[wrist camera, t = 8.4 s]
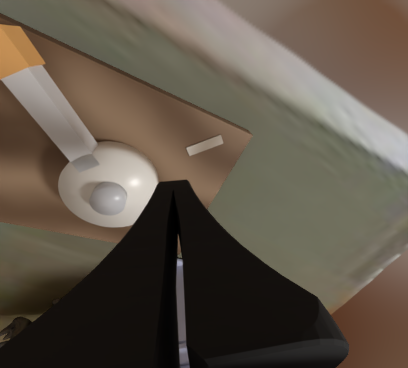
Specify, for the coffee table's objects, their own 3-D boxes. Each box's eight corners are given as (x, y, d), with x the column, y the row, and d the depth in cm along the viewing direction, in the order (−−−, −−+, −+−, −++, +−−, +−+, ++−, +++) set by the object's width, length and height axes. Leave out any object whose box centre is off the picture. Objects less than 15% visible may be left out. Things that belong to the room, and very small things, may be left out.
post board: (178, 246, 25) (179, 255, 24) (-3, 210, 19) (-14, 220, 18) (248, 130, 18) (253, 135, 17) (-10, 8, 12) (-27, 5, 11)
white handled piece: (171, 196, 19) (172, 219, 17) (103, 221, 20) (93, 246, 17) (65, 8, 11) (36, -1, 9) (-46, 58, 12) (-104, 62, 9)
